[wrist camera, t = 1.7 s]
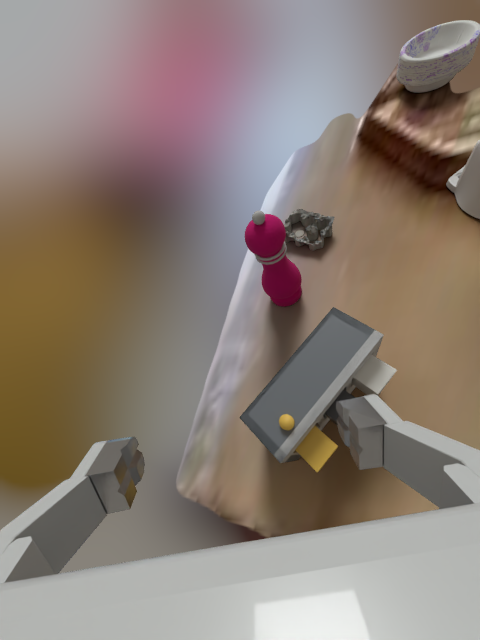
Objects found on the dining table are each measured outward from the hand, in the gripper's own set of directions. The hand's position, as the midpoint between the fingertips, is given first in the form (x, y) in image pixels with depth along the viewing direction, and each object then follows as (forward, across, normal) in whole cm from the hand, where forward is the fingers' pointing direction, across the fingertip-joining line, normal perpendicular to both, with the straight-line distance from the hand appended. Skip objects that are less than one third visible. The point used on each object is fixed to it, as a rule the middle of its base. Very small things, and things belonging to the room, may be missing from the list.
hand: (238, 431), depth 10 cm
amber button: (+16, -7, +19) cm, 26 cm away
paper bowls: (+68, -59, -37) cm, 97 cm away
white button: (+20, -16, +13) cm, 28 cm away
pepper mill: (+40, -10, +4) cm, 41 cm away
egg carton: (+49, -18, -6) cm, 52 cm away
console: (+24, -10, +18) cm, 32 cm away
